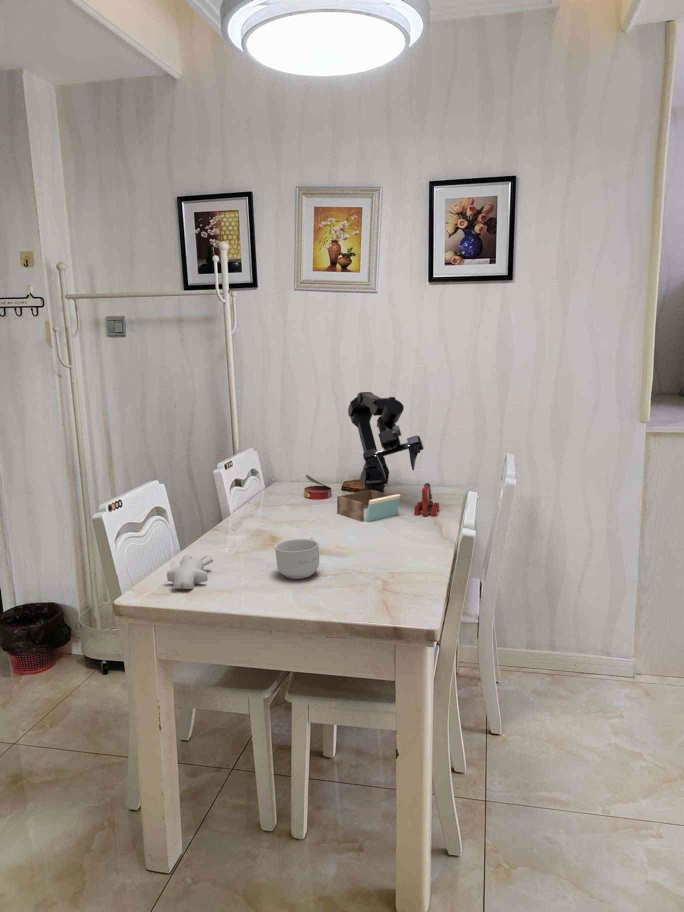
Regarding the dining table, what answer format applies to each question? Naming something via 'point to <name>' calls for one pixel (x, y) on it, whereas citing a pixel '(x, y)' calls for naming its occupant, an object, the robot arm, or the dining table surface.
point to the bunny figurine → (189, 572)
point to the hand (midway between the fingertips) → (399, 474)
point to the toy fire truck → (426, 503)
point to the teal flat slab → (382, 507)
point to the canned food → (317, 491)
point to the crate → (356, 503)
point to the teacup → (297, 557)
